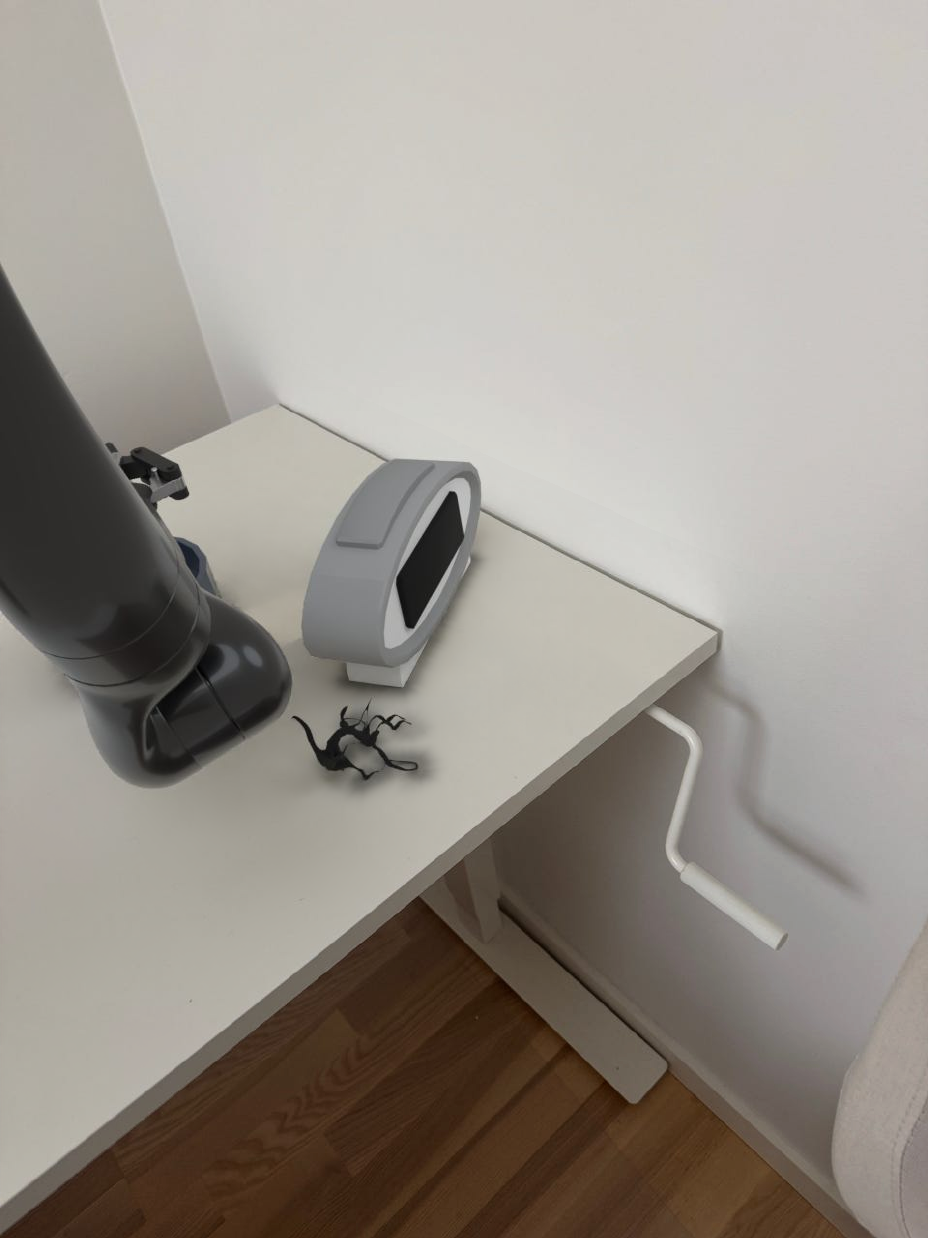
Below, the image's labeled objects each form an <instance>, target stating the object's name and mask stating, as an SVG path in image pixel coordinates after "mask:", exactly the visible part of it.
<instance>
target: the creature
mask: <svg viewBox="0 0 928 1238" xmlns="http://www.w3.org/2000/svg"><path fill="white" fill-rule="evenodd" d="M370 698H371V699H369V702H368V703H367V705H366V707H365V709H364V711H363V712H362V713H361V716H360V719H358V718H353V717H345V715H346V713H347V711H348V708H349V705H346V706H344V707H343V708H342V709H341V711H340V713H339V715H340V721H339V727H340V728H338V729H336V730H335V731H334V732H333V734H332V735H331V736H330V737H329V739H327V741H326V746H325V748H324V749H321V748H320V747H319V746H318V745H317V743H316V740H315V737H314V734H313V731H312V729H311V727H310V726H309V725H308V723H307V722H306V721H304V720H303V718H301V717H299V716H298V715H292V716H291V717H290V719H291V720H292V719H294V720H296V721H297V722H298V723H299V724H300V725H301V727H302V728H303V730H304V732H305V735H306V738H307V741H308V743H309V745H310V747H311V748H312V751H313V752H314V754H315V756H316V757H315V758H316V759H317V762H318V763H319V765H320V766H321V767H323V768H325V769H326V771H328V772H338V771H342V772H344V771H345V770H346V769H348V768H350V769H351V768H352V769H354V770H356V771H358V772H359V773H360V774H361V777H362V778H363V779H364V781H368V780H369V779H370V778H371V777H372V776H373V775H374V774H375V773H379V772H380V771H382V770H383V769H384V768H385V766H387V767H388V768H391V769H396V770H398V771H402V772H412V771H416V770H418V768H419V765H418V763H417V762H415V761H411V760H396V759H395V760H394V759H389V758H388V756H387V754H386V753H385V751H383V750H382V748H380V747H379V746H378V745H377V742H378V736H379V734H380V730H379V728H380V727H381V725H386V726H388V727H389V728H390V729H391V730H392V731H395V732H396V731H397V730H398V729H399V728H400V726H401V725H402V724H403V723H406V724H408V725H411V726H412V725H413V723H412V722H409V721H406V720H407V719H406V718H405V717H403V716H400V715H399V714H395V713H394V714H392V715H389V716H388V717H384V716H383V715H381V714H374V716H373V717H372V718H371V720H370V721H369V723H366V722H365V721H363V720H362V719H363V717H364V715H365V713H366V715H367V717H368V716H369V708H370V704H371V701H372V699H373V697H370ZM395 717H398V718H400V720H398V721H397V722H396V723H395V725H394V724H393V723H392V721H393V719H394V718H395ZM376 718H377V719H379V720H380V721H381V722H380V723H379V724H378V725H377V726H376V729H375V730H373V731H372V732H371V729H370V727H371V723H372V722H373V720H375V719H376ZM347 720H356V721H358V722H357V723H354V724H351V725H349V722H348V721H347ZM361 722H362V723H363V724H364V726H363V728H362V730H359V729H357V728H356V727H358V726H359V725H360V724H361ZM347 735H348V736H352V737H354V739H356V740H357V741H359V744H361V745H364V746H365V747H366V748H372V749H374V750H375V751H376V752H377V754H378V755H379V756H380V758H381V759H382V760H383V762H384V765H383V766H384V767H382V768H381V770H376V771H372V772H370V773H369V774H367V773H366V772H365V770H364V769H363V768H359V767H358V766H356V765H355V764H354V763H352V761H351V760H349V758H348V757H347V756H346V755H345V754H346V750H347V748H348V746H350V743H348V744H346V745H345V747H344V749H343V751H342V750H341V748H340V747H341V746H340V743H341V739H342V738H344V737H346V736H347ZM353 744H355V742H353V743H351V745H353ZM394 762H395V763H408V764H414V765H415V767H414V768H405V767H403V766H400V765H398V764H395V763H394Z"/></svg>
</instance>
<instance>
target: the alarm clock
mask: <svg viewBox="0 0 928 1238" xmlns="http://www.w3.org/2000/svg"><path fill="white" fill-rule="evenodd" d="M481 481H482V480H481V477H480V475H479V470H478V469H477V468H476V467H475V466H474V464H472V462H470V461H459V460H458V461H457V460H439V459H438V460H437V459H415V458H392V459H390V460H388V461H386V462H384V463H383V462H382V463H381V464H380V465H379V466H378V467H377V468H376V469H374V470H373V471H372V472H371V473H369V474H368V475H367V476H366V477H365V478H364V479H363V480H362V482H361V483H360V484H359V485H358V487H357V488H356V489H355V490H354V491H353V492H352V494H351V495H350V497H349V498H348V500H346V503H345V504H344V506H343V507H342V509H341V510H340V511H339V513H338V515H336V518H335V520H334V522H333V524H332V526H331V527H330V529H329V531H328V533H327V534H326V537H325V539H324V541H323V543H322V545H321V547H320V550H319V552H318V555H317V558H316V560H315V563H314V565H313V568H312V570H311V573H310V577H309V580H308V583H307V588H306V592H305V595H304V598H303V599H304V600H303V605H302V616H301V623H300V627H301V635H302V642H303V643H302V644H303V646H304V648H305V650H306V651H307V653H308V654H309V655H310V657H313V658H316V659H321V660H328V661H333V662H334V661H335V662H341V663H342V662H343V663H345V665H346V672H347V673H346V674H347V678H348V681H351V682H358V683H364V684H365V683H366V684H372V685H373V684H374V685H380V686H388V687H395V688H396V687H397V688H404V687H405V685H406V683H407V681H408V679H409V678H410V675H411V673H412V671H413V670H414V668H415V666H416V665H417V662H418V660H419V658H420V657H421V655H422V653H423V651H424V649H425V648H426V645H427V643H428V641H429V640H430V638H431V636H432V635H433V634H434V633H435V631H436V629H437V627H438V626H439V624H440V622H441V621H442V620H443V617H444V615H445V614H446V612H447V611H448V608H449V607H450V604H451V603H452V600H453V598H454V596H455V594H456V592H457V590H458V587H459V585H460V583H461V581H462V579H463V576H464V575H465V573H466V571H467V570H468V567H469V565H470V563H471V561H472V559H471V551H472V549H473V545H474V543H475V538H476V533H477V529H478V525H479V521H480V514H481V505H482V482H481Z"/></svg>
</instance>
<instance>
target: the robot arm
mask: <svg viewBox="0 0 928 1238" xmlns="http://www.w3.org/2000/svg"><path fill="white" fill-rule="evenodd" d="M136 479H140V481H141V482H135V481H133V480H136ZM189 496H190V490H189V488H188V485H187V483H186V480H185V478H184V474H183V472H182V470H181V468H180V465H179V464H178V463H177V462H175V461H173V460H171V459H169V458H167V457H165V456H164V455H161V454H159V453H157V452H155V451H153V450H152V449H149V448H147V447H145V446H138V447H135V448H133V449H131V450H130V452H129V455H122V453H121V452H119V450H118V449H117V447H116V446H115V445H114V443H112V442H106V443H105V441H104V440H103V439H102V437H101V435H99V433H98V431H97V430H96V428H95V427H94V425H93V424H92V422H91V420H90V419H89V417H88V416H87V414H86V412H85V411H84V409H83V408H82V406H81V405H80V403H79V402H78V400H77V399H76V397H75V396H74V394H73V393H72V391H71V389H70V387H69V386H68V384H67V383H66V380H65V379H64V377H63V376H62V374H61V373H60V371H59V369H58V367H57V366H56V364H55V362H54V361H53V359H52V357H51V355H50V353H49V352H48V350H47V348H46V347H45V345H44V343H43V340H42V339H41V338H40V336H39V334H38V333H37V330H36V328H35V326H34V325H33V323H32V321H31V319H30V317H29V315H28V314H27V311H26V310H25V308H24V306H23V304H22V302H21V300H20V298H19V296H18V294H17V293H16V291H15V290H14V287H13V285H12V282H11V281H10V279H9V277H8V275H7V273H6V271H5V268H4V267H3V265H2V263H1V262H0V612H1V614H2V615H3V616H4V618H6V620H7V621H9V623H10V624H11V625H12V626H13V627H14V628H15V629H16V631H18V632H19V633H20V634H21V636H23V637H24V638H25V639H26V640H27V641H28V642H29V643H31V644H32V645H33V647H35V648H36V649H37V650H38V651H39V652H40V653H41V654H42V655H43V656H44V657H45V658H46V659H48V661H49V662H50V663H51V664H53V666H55V668H57V670H59V671H60V672H61V673H62V674H63V675H64V676H65V677H66V678H67V680H69V683H71V684H72V686H73V687H74V689H75V690H76V693H77V694H78V697H79V700H80V703H81V707H82V711H83V715H84V718H85V722H86V725H87V728H88V731H89V733H90V736H91V738H92V741H93V743H94V746H95V747H96V750H97V751H98V753H99V755H100V757H101V758H102V760H103V762H104V763H105V764H106V765H107V767H108V768H109V770H111V771H112V772H113V773H114V774H115V775H116V776H117V777H118V778H119V779H121V780H122V781H124V783H127V784H129V785H131V786H133V787H137V788H141V789H148V790H157V789H165V788H169V787H172V786H175V785H178V784H179V783H182V782H184V781H185V780H187V779H188V778H190V777H193V775H195V774H196V773H198V772H199V771H201V770H203V769H204V768H206V767H208V766H210V764H212V763H214V762H215V761H217V760H218V759H220V758H221V757H223V756H225V755H226V754H228V753H229V752H231V751H233V750H234V749H235V748H237V747H238V746H240V745H242V744H243V743H245V742H246V741H247V739H252V738H253V737H255V736H256V735H258V734H260V733H261V732H262V731H264V730H265V729H267V728H269V727H270V726H272V725H273V724H274V723H275V722H276V721H278V720H279V718H280V717H281V716H282V715H283V714H284V712H285V711H286V710H287V707H288V705H289V704H290V699H291V695H292V689H293V678H292V671H291V667H290V666H291V665H290V664H289V661H288V658H287V656H286V654H285V652H284V651H283V649H282V647H281V646H280V644H279V643H278V642H277V641H276V640H275V638H274V637H273V636H272V634H271V633H270V632H269V631H268V630H267V629H266V628H265V627H264V626H263V625H262V624H261V623H259V622H258V621H257V620H256V619H255V618H253V617H252V616H251V615H249V614H248V613H246V612H245V611H244V610H241V609H240V608H238V607H237V606H236V605H234V604H232V603H231V602H229V601H227V600H225V599H223V598H222V597H221V598H222V599H221V598H219V597H217V596H215V595H213V594H211V593H209V592H207V591H206V590H204V589H203V588H201V586H200V585H199V583H198V582H197V580H196V579H195V577H194V576H193V574H192V572H191V571H190V569H189V568H188V566H187V565H186V561H185V558H184V555H183V553H182V551H181V549H180V547H179V545H178V543H177V542H176V540H175V539H174V537H175V536H174V537H173V534H172V532H171V531H170V529H169V527H168V526H167V525H166V523H165V521H164V520H163V519H162V517H161V515H160V514H159V511H157V510H158V508H159V507H158V502H160V501H162V500H164V499H167V498H168V497H169V498H171V499H172V500H175V501H182V500H183V501H184V500H185V499H187V498H189Z"/></svg>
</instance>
